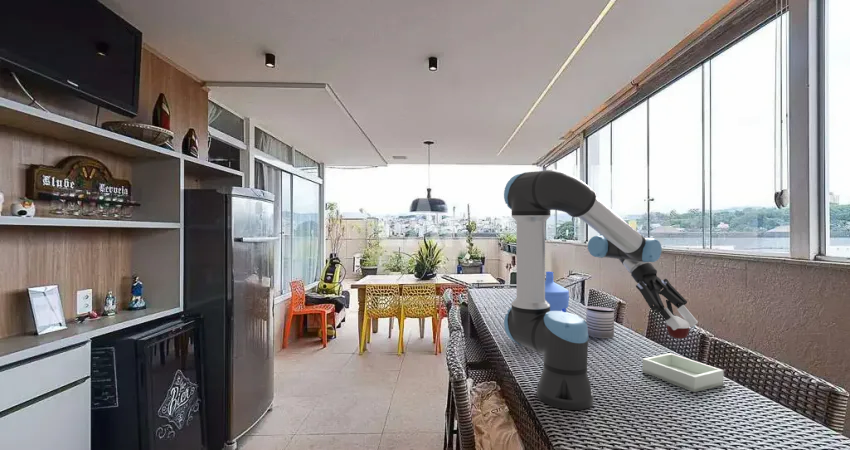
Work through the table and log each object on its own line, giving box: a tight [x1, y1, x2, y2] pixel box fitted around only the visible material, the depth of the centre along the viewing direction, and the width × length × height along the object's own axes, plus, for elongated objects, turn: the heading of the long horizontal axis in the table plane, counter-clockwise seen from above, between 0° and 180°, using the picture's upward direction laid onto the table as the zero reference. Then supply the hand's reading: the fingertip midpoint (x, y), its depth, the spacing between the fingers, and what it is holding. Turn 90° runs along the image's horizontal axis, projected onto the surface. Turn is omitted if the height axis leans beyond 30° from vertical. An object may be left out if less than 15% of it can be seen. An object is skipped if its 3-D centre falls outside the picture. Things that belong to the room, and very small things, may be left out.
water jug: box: [545, 271, 570, 312], centre depth 172 cm, size 16×16×28 cm
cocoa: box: [665, 299, 691, 340], centre depth 131 cm, size 10×6×12 cm, turn 90°
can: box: [585, 305, 615, 339], centre depth 179 cm, size 11×11×12 cm
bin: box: [641, 352, 725, 393], centre depth 131 cm, size 14×17×4 cm
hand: (686, 326), depth 128 cm, fingers closed on cocoa, 8 cm apart
